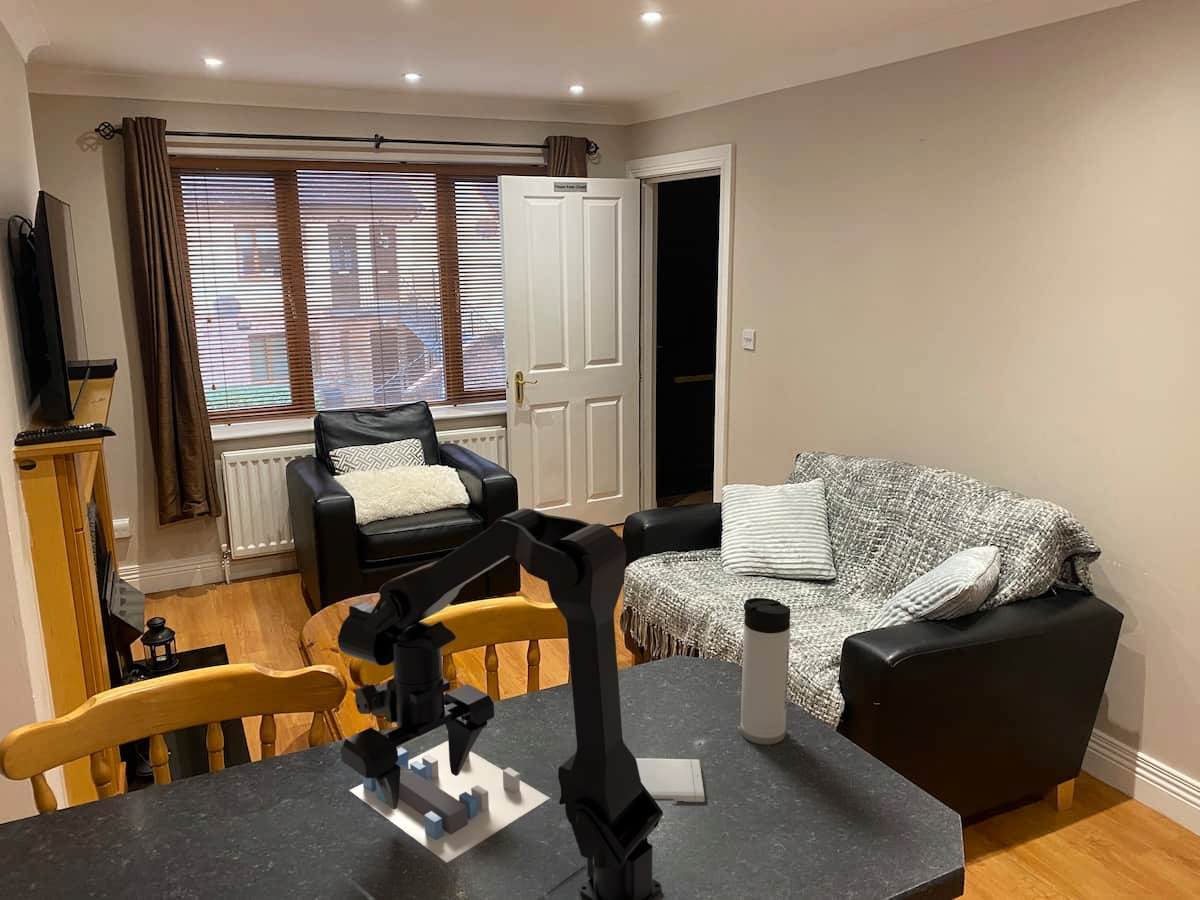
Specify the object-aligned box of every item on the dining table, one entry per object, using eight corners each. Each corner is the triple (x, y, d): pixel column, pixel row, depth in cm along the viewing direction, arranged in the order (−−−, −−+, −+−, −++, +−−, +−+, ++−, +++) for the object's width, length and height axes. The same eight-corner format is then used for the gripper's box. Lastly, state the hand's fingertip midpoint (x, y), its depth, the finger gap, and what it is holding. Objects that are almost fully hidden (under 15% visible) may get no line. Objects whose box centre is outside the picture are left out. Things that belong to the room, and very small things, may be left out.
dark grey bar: (467, 824, 104) (466, 806, 104) (450, 834, 103) (449, 815, 102) (403, 781, 113) (402, 764, 112) (386, 790, 111) (385, 772, 111)
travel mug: (729, 728, 126) (733, 597, 121) (767, 718, 128) (773, 589, 124) (754, 750, 120) (760, 614, 116) (794, 739, 123) (800, 605, 118)
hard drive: (604, 793, 109) (704, 794, 109) (606, 756, 117) (699, 756, 117) (604, 805, 110) (704, 806, 109) (606, 767, 118) (699, 767, 117)
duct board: (550, 800, 109) (549, 775, 109) (447, 865, 98) (445, 837, 97) (450, 742, 123) (449, 718, 122) (349, 793, 111) (347, 767, 110)
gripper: (440, 629, 116) (445, 736, 119) (311, 679, 102) (321, 798, 106) (495, 654, 108) (499, 767, 112) (364, 712, 95) (373, 838, 99)
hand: (424, 790), depth 107 cm, fingers open, 9 cm apart
